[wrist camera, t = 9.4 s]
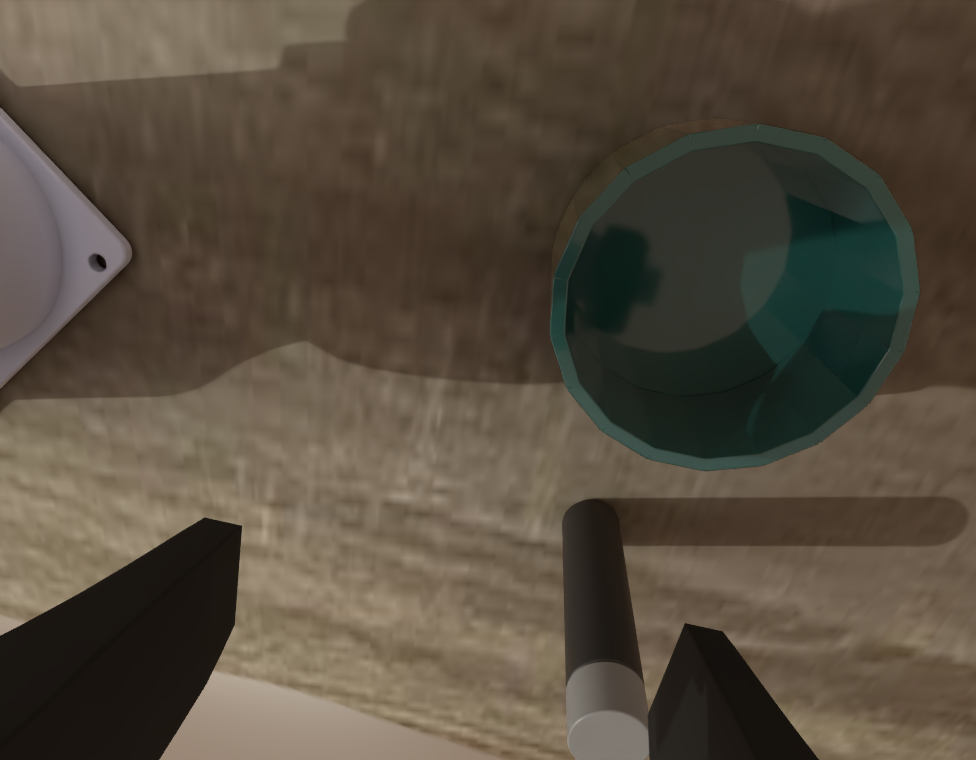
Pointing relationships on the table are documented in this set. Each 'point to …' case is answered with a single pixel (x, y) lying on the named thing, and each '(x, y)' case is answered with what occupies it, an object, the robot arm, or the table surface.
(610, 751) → the marker
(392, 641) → the table surface
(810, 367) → the pen cup
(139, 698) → the robot arm
